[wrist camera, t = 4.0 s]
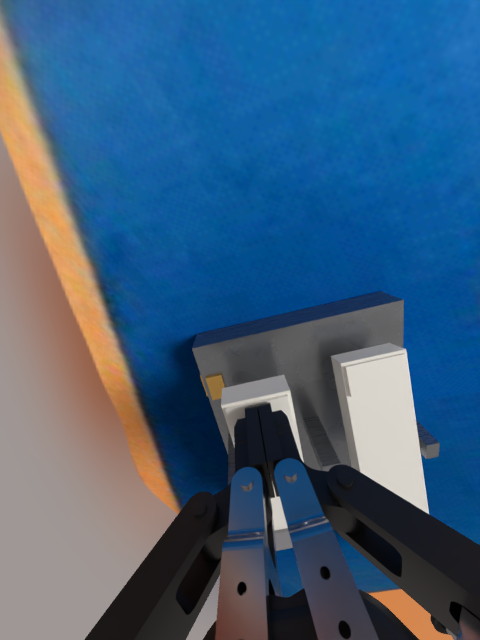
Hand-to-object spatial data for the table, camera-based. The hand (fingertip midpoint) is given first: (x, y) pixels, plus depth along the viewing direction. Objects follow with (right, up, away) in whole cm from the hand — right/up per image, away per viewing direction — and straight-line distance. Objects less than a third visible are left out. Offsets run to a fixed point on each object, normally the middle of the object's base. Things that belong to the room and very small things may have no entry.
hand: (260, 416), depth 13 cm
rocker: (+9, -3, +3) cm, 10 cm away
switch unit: (+5, -2, +8) cm, 10 cm away
